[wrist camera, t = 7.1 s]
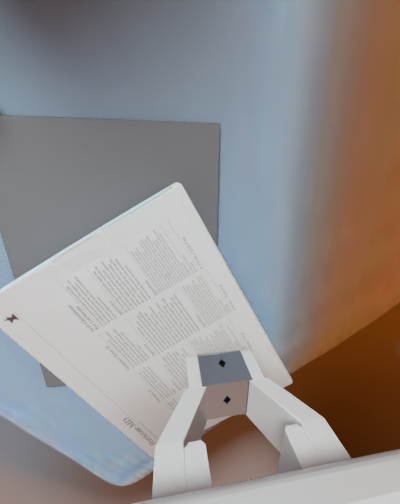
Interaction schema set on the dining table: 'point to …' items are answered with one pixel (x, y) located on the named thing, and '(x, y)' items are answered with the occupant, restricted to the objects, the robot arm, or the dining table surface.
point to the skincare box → (136, 314)
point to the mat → (94, 179)
